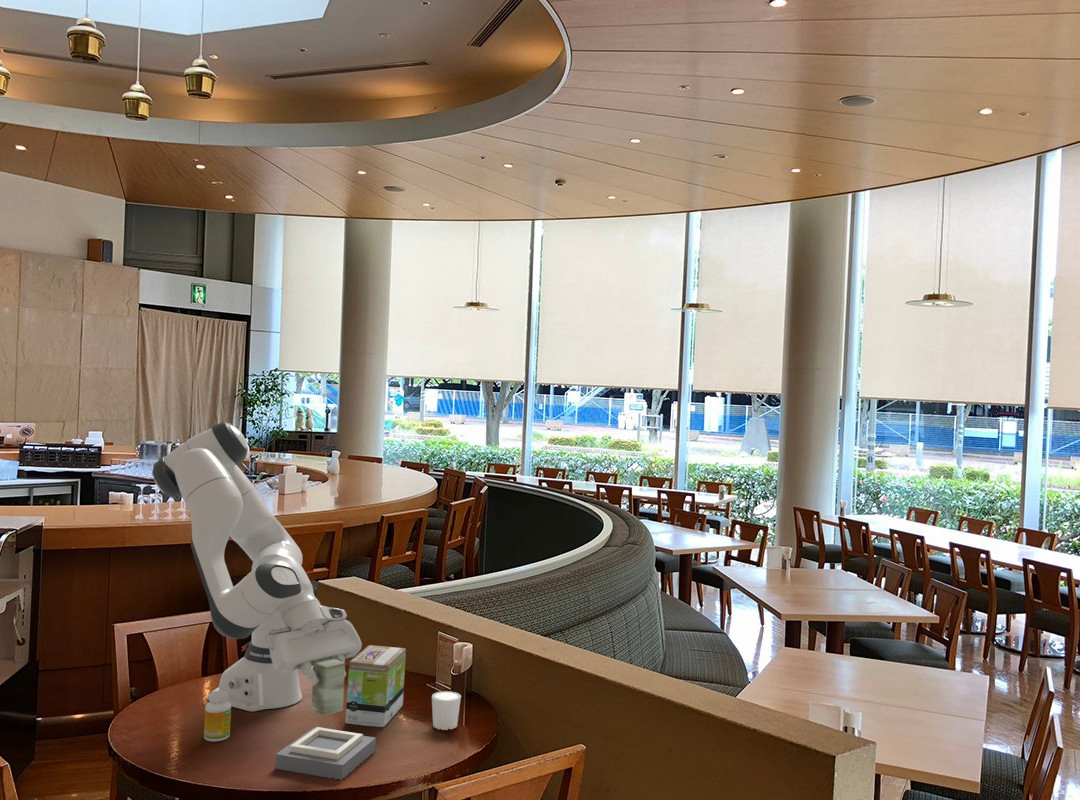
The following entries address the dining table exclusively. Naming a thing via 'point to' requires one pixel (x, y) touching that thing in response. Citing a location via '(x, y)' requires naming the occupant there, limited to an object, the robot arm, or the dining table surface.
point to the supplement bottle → (217, 717)
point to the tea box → (375, 685)
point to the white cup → (445, 709)
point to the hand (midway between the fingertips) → (330, 680)
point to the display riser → (326, 753)
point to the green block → (328, 687)
